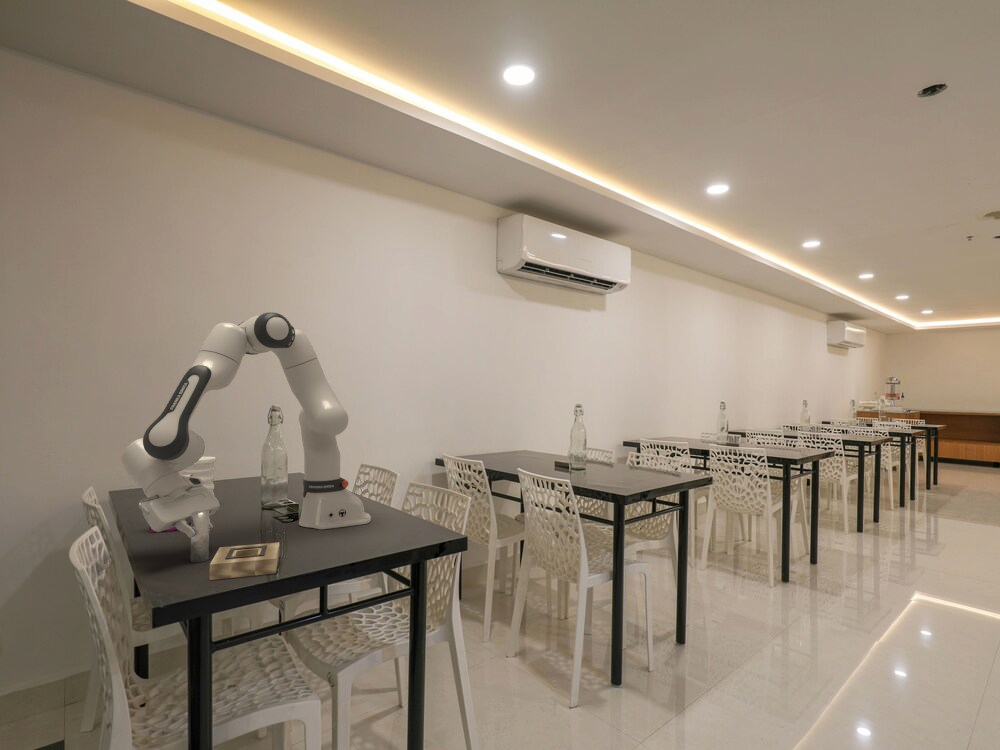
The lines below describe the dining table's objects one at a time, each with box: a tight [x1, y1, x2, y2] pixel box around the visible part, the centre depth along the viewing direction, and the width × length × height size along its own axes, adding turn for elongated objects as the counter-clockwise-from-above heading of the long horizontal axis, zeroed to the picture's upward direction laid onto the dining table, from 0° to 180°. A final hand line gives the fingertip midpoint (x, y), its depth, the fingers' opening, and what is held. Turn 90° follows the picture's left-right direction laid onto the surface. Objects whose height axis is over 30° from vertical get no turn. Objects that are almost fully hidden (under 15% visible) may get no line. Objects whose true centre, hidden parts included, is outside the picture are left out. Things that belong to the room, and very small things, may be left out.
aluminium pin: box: [190, 511, 210, 563], centre depth 139 cm, size 4×4×12 cm
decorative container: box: [182, 456, 217, 496], centre depth 198 cm, size 12×12×18 cm
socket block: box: [209, 542, 281, 581], centre depth 134 cm, size 14×14×4 cm
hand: (202, 532), depth 139 cm, fingers closed on aluminium pin, 4 cm apart
